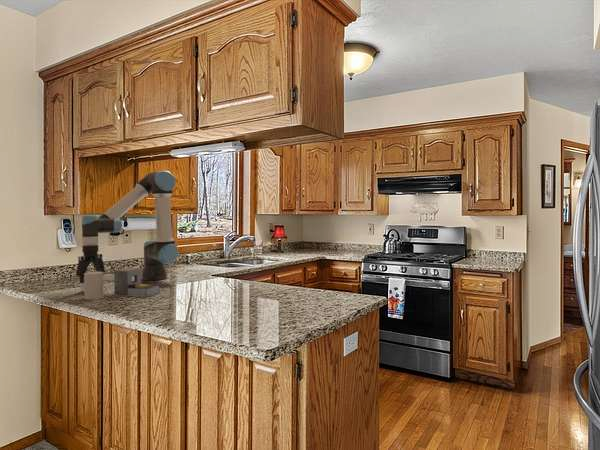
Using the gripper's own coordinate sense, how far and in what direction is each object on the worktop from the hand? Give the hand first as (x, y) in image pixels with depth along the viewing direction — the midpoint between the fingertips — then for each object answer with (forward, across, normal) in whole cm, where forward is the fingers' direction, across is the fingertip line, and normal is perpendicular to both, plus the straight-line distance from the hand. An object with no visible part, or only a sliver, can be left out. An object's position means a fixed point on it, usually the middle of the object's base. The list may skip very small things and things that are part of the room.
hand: (91, 287), depth 222 cm
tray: (+2, 0, +33) cm, 33 cm away
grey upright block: (+2, +14, +16) cm, 21 cm away
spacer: (-1, 0, +29) cm, 29 cm away
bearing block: (+2, 0, +24) cm, 24 cm away
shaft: (+1, 0, +12) cm, 12 cm away
